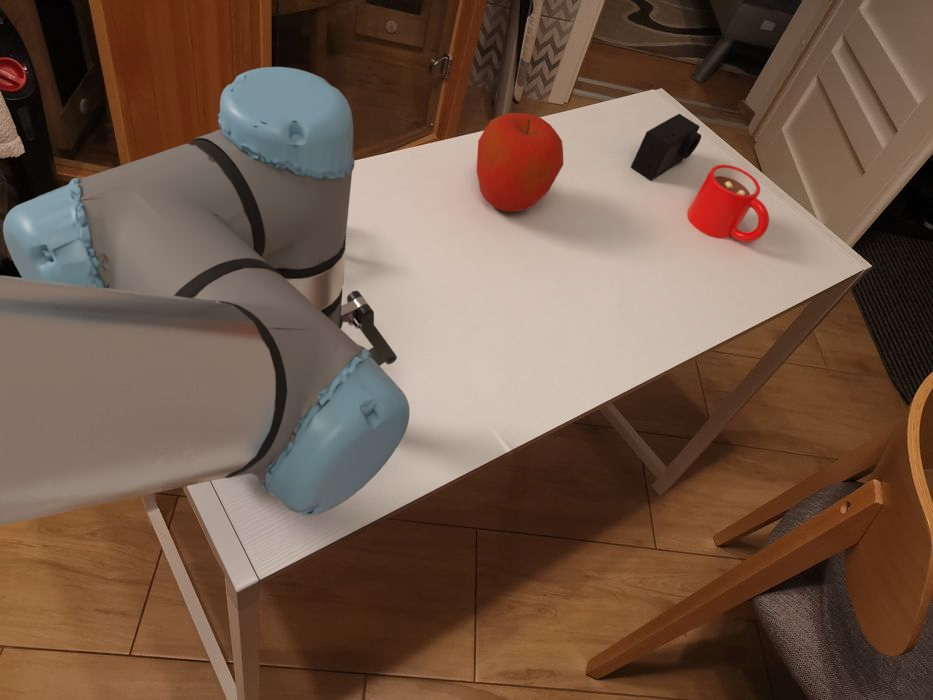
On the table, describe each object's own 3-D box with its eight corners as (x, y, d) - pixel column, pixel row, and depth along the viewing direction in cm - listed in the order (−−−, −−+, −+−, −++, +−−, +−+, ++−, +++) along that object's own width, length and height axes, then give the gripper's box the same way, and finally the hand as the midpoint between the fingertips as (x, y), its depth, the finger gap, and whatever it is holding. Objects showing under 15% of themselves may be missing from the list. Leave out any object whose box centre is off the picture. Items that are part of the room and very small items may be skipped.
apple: (507, 242, 95) (535, 157, 84) (447, 195, 99) (466, 108, 88) (561, 211, 102) (593, 128, 91) (502, 168, 106) (526, 84, 95)
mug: (738, 261, 102) (765, 220, 97) (677, 213, 107) (700, 172, 101) (765, 244, 107) (793, 204, 101) (705, 199, 111) (729, 158, 105)
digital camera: (656, 185, 111) (674, 148, 106) (630, 167, 113) (646, 130, 108) (687, 165, 117) (706, 129, 112) (662, 148, 119) (679, 112, 113)
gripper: (408, 209, 58) (383, 362, 74) (92, 301, 46) (146, 459, 62) (457, 267, 54) (420, 413, 71) (131, 382, 42) (177, 527, 59)
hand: (292, 435), depth 66 cm, fingers open, 13 cm apart
